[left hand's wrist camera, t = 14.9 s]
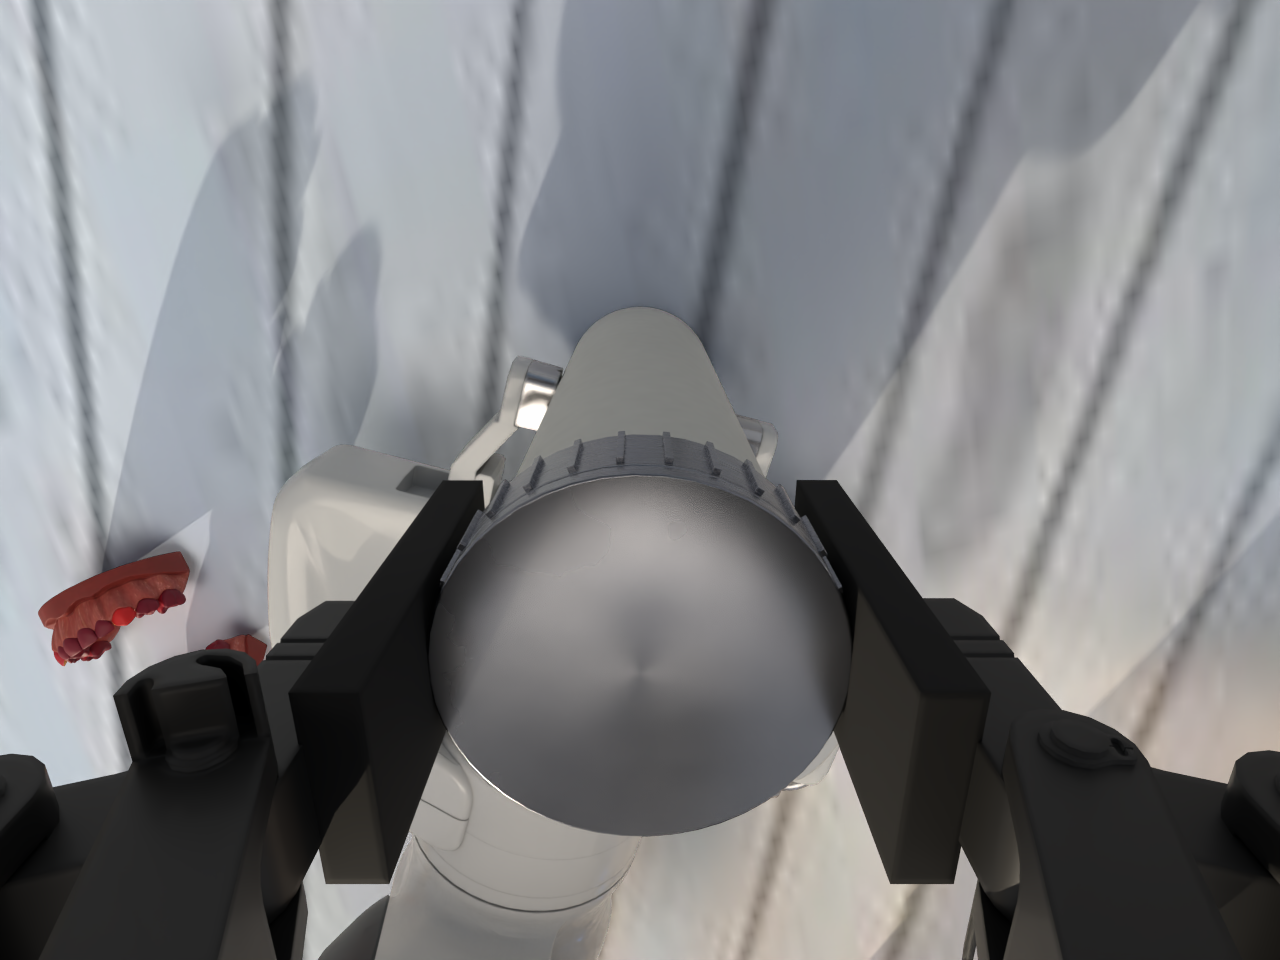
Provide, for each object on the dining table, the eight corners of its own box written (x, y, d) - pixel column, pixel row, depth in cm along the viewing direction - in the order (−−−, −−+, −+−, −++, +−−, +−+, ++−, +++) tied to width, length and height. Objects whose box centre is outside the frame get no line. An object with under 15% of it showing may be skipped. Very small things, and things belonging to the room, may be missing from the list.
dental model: (139, 786, 30) (-15, 641, 28) (196, 721, 34) (66, 590, 32) (245, 722, 29) (95, 568, 27) (290, 663, 33) (163, 525, 31)
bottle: (555, 425, 29) (424, 760, 11) (588, 289, 27) (493, 435, 10) (687, 460, 30) (758, 832, 12) (728, 328, 28) (883, 535, 10)
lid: (473, 765, 13) (449, 847, 11) (426, 435, 11) (388, 475, 9) (818, 755, 13) (845, 836, 11) (839, 420, 11) (875, 459, 9)
